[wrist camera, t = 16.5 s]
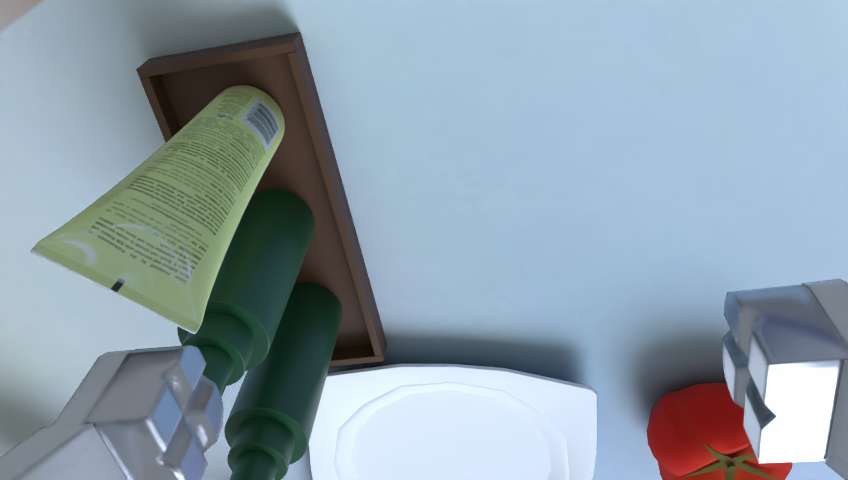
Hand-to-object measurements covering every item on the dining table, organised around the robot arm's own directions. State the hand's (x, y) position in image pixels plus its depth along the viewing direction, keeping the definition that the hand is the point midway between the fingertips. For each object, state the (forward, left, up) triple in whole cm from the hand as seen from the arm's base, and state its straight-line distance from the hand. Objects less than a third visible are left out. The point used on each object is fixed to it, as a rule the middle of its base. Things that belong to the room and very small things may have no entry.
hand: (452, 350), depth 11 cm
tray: (+15, -16, -35) cm, 41 cm away
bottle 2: (+23, -16, -34) cm, 45 cm away
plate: (+41, -8, -35) cm, 55 cm away
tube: (+7, -16, -35) cm, 39 cm away
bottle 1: (+15, -16, -34) cm, 41 cm away
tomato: (+38, +14, -35) cm, 54 cm away
